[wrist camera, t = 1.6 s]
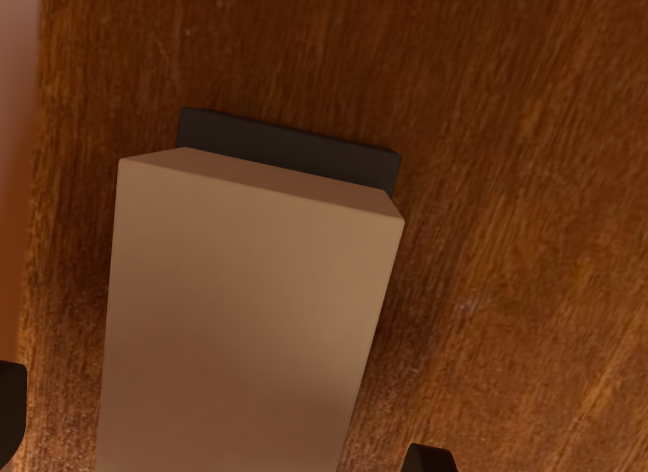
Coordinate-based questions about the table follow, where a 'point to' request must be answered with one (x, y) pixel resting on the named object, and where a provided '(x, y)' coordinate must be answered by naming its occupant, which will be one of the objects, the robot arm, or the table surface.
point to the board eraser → (243, 297)
